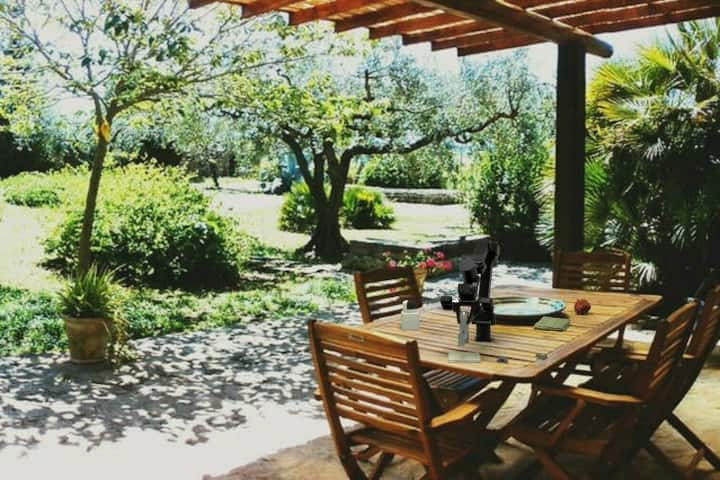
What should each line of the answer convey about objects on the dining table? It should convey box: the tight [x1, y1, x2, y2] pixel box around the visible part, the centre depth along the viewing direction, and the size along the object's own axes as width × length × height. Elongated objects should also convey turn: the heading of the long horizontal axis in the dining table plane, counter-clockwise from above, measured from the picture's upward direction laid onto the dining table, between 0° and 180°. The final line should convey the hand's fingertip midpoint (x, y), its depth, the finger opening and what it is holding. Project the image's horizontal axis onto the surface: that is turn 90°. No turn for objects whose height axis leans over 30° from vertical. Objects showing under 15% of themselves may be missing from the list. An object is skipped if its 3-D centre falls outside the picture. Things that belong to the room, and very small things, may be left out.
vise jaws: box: [496, 352, 548, 364], centre depth 253 cm, size 5×19×1 cm, turn 104°
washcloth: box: [532, 316, 571, 332], centre depth 306 cm, size 13×18×3 cm
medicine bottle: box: [400, 299, 420, 331], centre depth 308 cm, size 7×7×12 cm
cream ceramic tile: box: [448, 351, 482, 363], centre depth 256 cm, size 11×11×1 cm
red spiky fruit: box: [573, 298, 592, 317], centre depth 331 cm, size 7×7×10 cm
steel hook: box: [457, 310, 470, 347], centre depth 254 cm, size 7×3×11 cm, turn 158°
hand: (463, 323), depth 254 cm, fingers closed on steel hook, 3 cm apart
